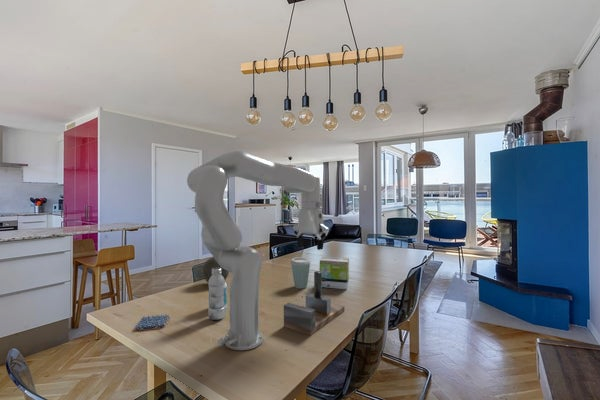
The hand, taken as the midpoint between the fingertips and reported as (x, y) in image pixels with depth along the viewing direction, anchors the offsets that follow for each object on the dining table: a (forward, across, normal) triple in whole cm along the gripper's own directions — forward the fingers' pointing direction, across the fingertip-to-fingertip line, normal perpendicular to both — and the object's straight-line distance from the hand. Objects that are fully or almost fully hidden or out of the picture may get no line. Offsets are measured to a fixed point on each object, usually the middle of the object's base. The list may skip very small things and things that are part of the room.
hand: (310, 248), depth 116 cm
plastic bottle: (+28, +28, +25) cm, 46 cm away
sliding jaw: (+25, -4, -1) cm, 25 cm away
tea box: (+27, +12, -40) cm, 50 cm away
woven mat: (+29, +43, +42) cm, 67 cm away
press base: (+27, -4, +1) cm, 28 cm away
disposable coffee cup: (+27, +25, -28) cm, 46 cm away
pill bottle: (+28, +36, +18) cm, 49 cm away
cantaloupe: (+28, +66, -3) cm, 71 cm away
